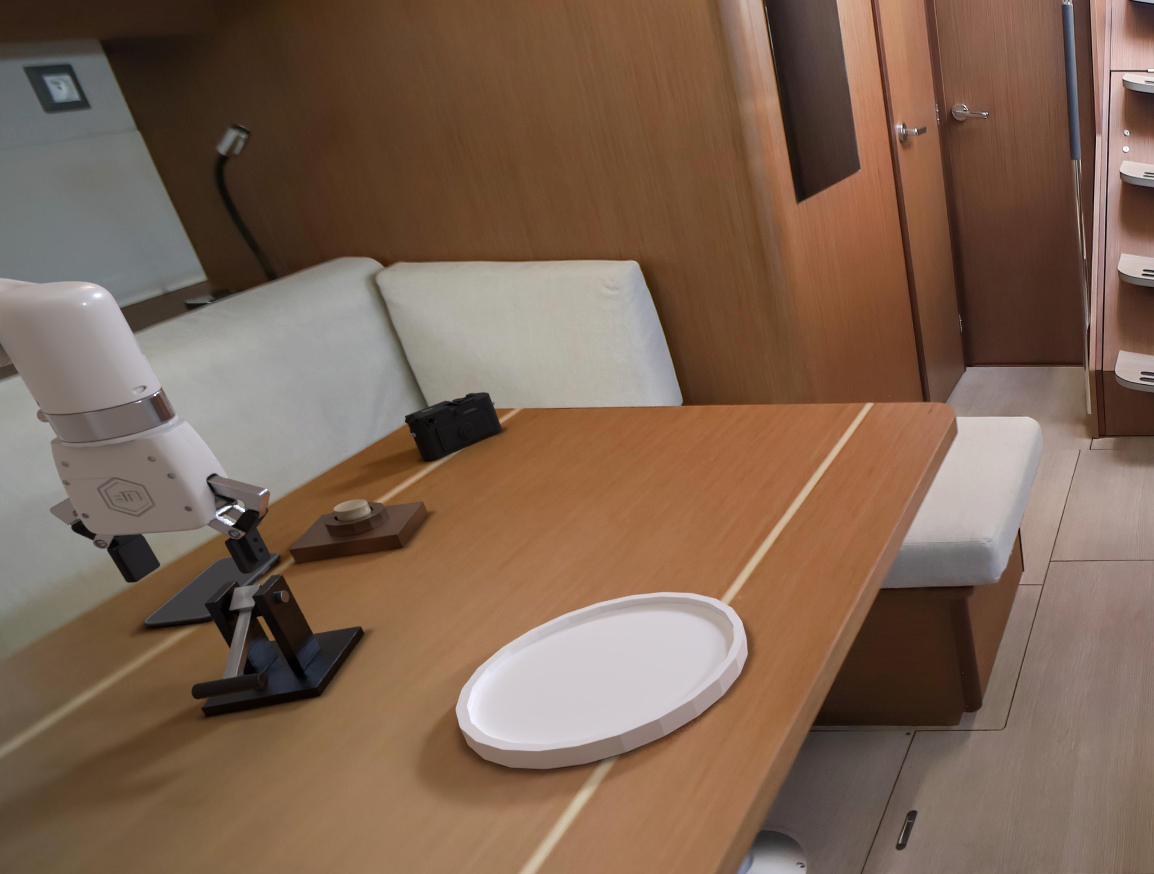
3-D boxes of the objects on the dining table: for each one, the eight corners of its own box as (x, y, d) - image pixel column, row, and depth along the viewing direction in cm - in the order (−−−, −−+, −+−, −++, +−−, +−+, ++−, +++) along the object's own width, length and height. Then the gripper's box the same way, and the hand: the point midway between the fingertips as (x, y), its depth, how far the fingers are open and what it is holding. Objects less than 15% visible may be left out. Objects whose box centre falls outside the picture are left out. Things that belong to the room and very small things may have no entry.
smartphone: (136, 624, 116) (217, 557, 129) (140, 631, 117) (220, 563, 129) (211, 615, 118) (283, 550, 131) (215, 622, 118) (286, 556, 131)
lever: (268, 691, 102) (254, 683, 100) (202, 703, 100) (186, 695, 98) (291, 590, 108) (278, 581, 106) (229, 600, 106) (215, 590, 105)
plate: (646, 586, 127) (641, 571, 126) (800, 644, 116) (796, 628, 115) (405, 717, 104) (397, 700, 103) (570, 805, 94) (563, 786, 92)
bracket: (320, 695, 107) (274, 609, 102) (205, 716, 103) (151, 629, 98) (364, 633, 117) (325, 552, 112) (261, 651, 113) (215, 568, 108)
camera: (480, 423, 171) (464, 382, 167) (511, 428, 169) (496, 387, 165) (397, 458, 158) (378, 414, 155) (430, 463, 157) (412, 419, 153)
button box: (295, 563, 130) (282, 538, 128) (328, 527, 138) (316, 503, 137) (403, 547, 134) (392, 523, 132) (428, 513, 142) (418, 490, 141)
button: (333, 524, 133) (328, 513, 132) (344, 511, 136) (339, 501, 135) (365, 519, 134) (360, 509, 133) (375, 507, 137) (371, 497, 136)
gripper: (-40, 440, 84) (65, 600, 91) (190, 427, 87) (273, 583, 94) (40, 406, 90) (132, 558, 98) (251, 395, 93) (324, 543, 101)
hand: (201, 570), depth 96 cm, fingers open, 9 cm apart
